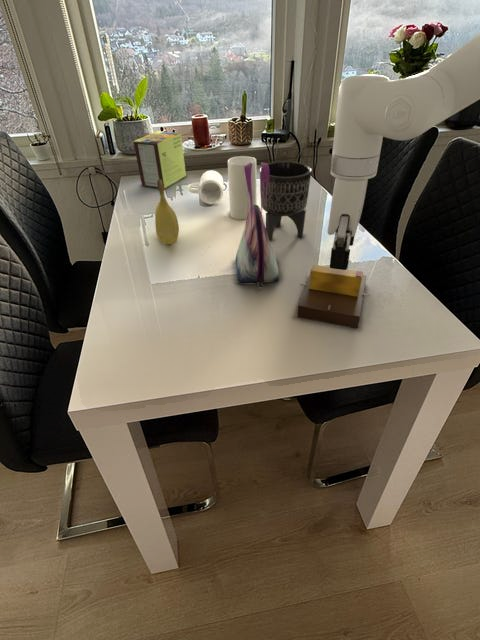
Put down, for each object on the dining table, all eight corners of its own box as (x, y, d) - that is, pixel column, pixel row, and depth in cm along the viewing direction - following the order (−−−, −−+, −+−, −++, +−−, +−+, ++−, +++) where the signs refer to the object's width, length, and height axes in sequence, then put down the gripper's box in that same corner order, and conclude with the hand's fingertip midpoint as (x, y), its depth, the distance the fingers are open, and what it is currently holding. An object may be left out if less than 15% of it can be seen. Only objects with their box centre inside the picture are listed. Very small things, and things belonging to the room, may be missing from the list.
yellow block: (309, 288, 78) (311, 269, 75) (311, 282, 80) (313, 263, 77) (358, 296, 76) (362, 277, 73) (359, 290, 77) (363, 270, 74)
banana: (154, 225, 112) (141, 155, 99) (174, 222, 113) (163, 153, 100) (162, 262, 95) (147, 183, 82) (184, 259, 96) (173, 180, 83)
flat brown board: (306, 277, 87) (307, 266, 85) (369, 287, 83) (372, 275, 81) (291, 316, 76) (292, 303, 74) (363, 329, 72) (366, 317, 70)
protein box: (186, 175, 146) (181, 132, 136) (164, 189, 135) (157, 143, 125) (164, 173, 149) (157, 130, 140) (140, 185, 139) (132, 140, 129)
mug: (224, 193, 130) (222, 169, 125) (224, 204, 123) (222, 179, 118) (189, 194, 130) (187, 171, 125) (187, 205, 123) (184, 181, 118)
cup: (225, 216, 115) (222, 162, 105) (237, 206, 121) (236, 154, 111) (249, 221, 112) (248, 166, 102) (260, 211, 118) (261, 157, 107)
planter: (309, 226, 108) (316, 163, 97) (299, 247, 99) (305, 179, 87) (266, 221, 112) (268, 159, 100) (253, 240, 102) (252, 174, 91)
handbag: (284, 295, 82) (290, 181, 66) (238, 298, 82) (234, 183, 66) (272, 248, 98) (274, 147, 83) (234, 250, 98) (229, 149, 82)
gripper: (338, 149, 69) (329, 234, 80) (322, 179, 57) (314, 276, 67) (380, 151, 67) (365, 238, 78) (374, 182, 54) (357, 282, 65)
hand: (341, 255), depth 72 cm, fingers open, 9 cm apart
